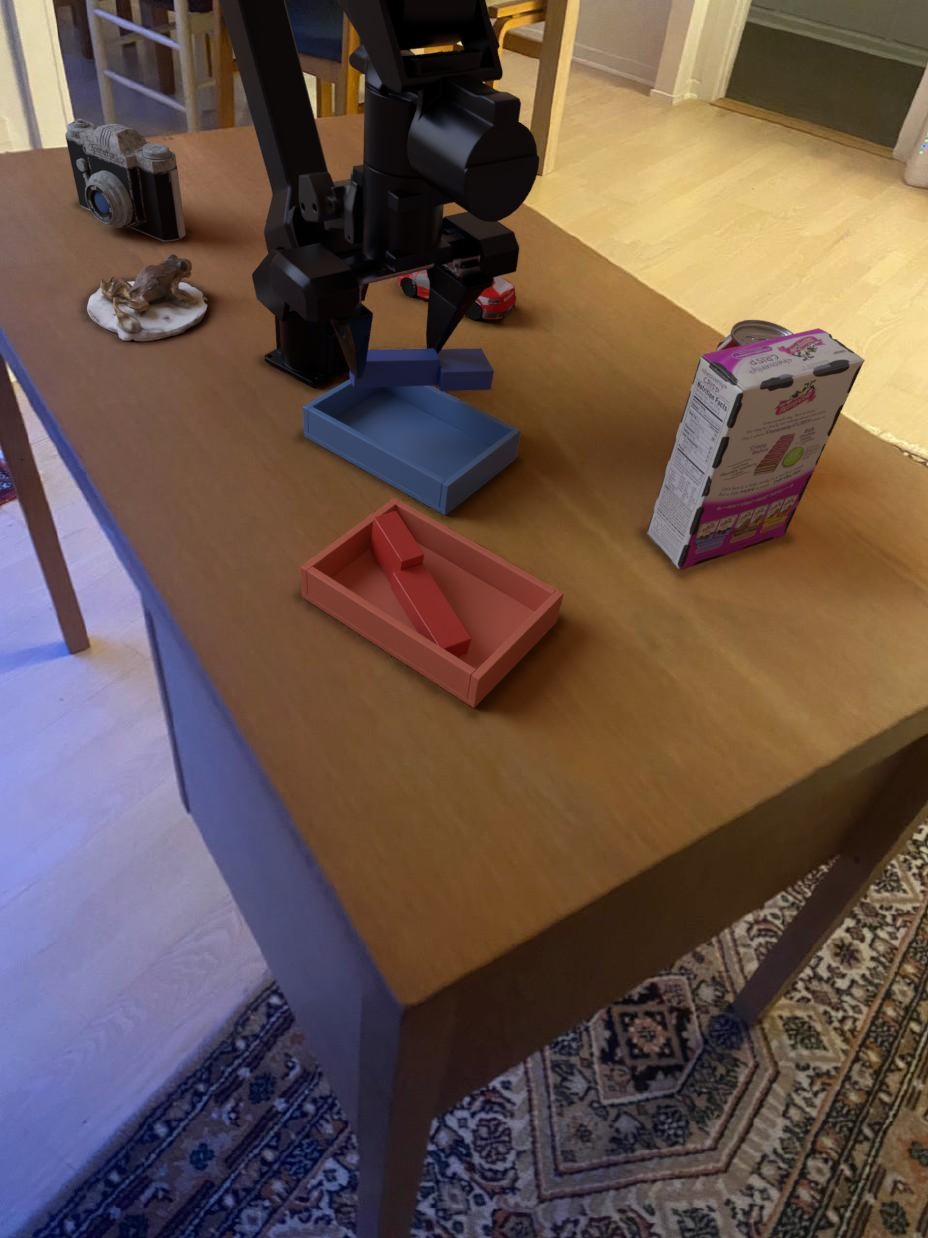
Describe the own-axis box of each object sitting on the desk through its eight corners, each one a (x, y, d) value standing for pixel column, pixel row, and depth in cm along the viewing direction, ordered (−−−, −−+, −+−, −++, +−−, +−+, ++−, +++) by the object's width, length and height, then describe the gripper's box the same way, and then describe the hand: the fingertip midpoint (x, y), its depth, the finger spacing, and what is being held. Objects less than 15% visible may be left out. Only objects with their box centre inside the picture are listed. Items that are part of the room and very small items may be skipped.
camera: (51, 211, 100) (28, 114, 93) (98, 194, 104) (79, 99, 97) (149, 254, 96) (133, 155, 88) (194, 233, 100) (183, 137, 92)
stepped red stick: (474, 630, 59) (442, 642, 58) (465, 660, 62) (435, 672, 61) (396, 510, 64) (365, 519, 63) (391, 543, 67) (362, 552, 66)
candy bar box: (746, 501, 76) (821, 324, 64) (785, 538, 74) (871, 360, 62) (640, 532, 72) (699, 349, 60) (677, 573, 69) (746, 389, 57)
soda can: (758, 489, 78) (811, 366, 69) (680, 473, 78) (723, 349, 69) (756, 444, 82) (805, 324, 74) (683, 430, 83) (723, 308, 74)
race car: (387, 289, 96) (388, 253, 93) (414, 271, 99) (416, 235, 96) (495, 330, 92) (500, 293, 89) (520, 309, 95) (525, 273, 92)
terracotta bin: (301, 597, 64) (300, 566, 62) (393, 526, 70) (394, 496, 68) (473, 708, 58) (478, 679, 56) (556, 622, 64) (564, 593, 62)
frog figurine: (158, 266, 94) (152, 230, 91) (235, 311, 89) (231, 274, 87) (60, 301, 87) (51, 263, 85) (138, 351, 83) (130, 312, 80)
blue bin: (303, 436, 76) (302, 406, 74) (380, 388, 83) (381, 359, 80) (445, 516, 71) (448, 486, 69) (516, 459, 77) (521, 430, 75)
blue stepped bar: (355, 394, 71) (357, 367, 70) (347, 370, 74) (348, 343, 72) (490, 389, 75) (495, 364, 73) (478, 366, 77) (482, 341, 75)
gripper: (447, 104, 69) (432, 294, 81) (224, 136, 61) (242, 344, 72) (538, 158, 64) (508, 354, 75) (307, 201, 55) (313, 415, 67)
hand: (395, 364), depth 72 cm, fingers closed on blue stepped bar, 7 cm apart
